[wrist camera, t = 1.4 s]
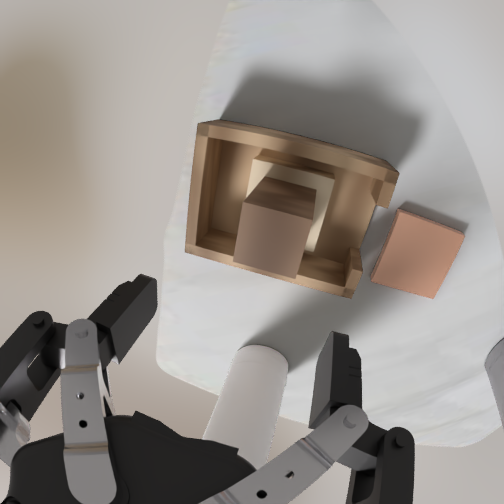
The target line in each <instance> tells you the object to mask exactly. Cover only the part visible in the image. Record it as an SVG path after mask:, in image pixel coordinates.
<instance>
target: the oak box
mask: <svg viewBox="0 0 504 504" xmlns="http://www.w3.org/2000/svg"><path fill="white" fill-rule="evenodd" d="M264 176H266V177H270V178H274V179H278V180H282V181H286V182H290V183H294V184H298V185H302V186H305V187H309V188H313V189H316V190H317V192H316V200H315V208H314V216H313V222H312V225H311V229H310V232H309V236H308V239H307V242H306V246H305V249H304V253H303V256H302V259H301V262H300V266H299V269H298V272H297V275H296V279H293V278H289V277H286V276H282V275H278V274H275V273H271V272H268V271H264V270H260V269H257V268H253V267H250V266H246V265H243V264H239V263H236V262H233V257H234V251H235V245H236V239H237V234H238V228H239V222H240V216H241V210H242V205H243V201H244V200H245V199H246V198H247V197H248V195H249V194H250V193H251V192H252V191H253V189H254V188H255V187H256V186H257V185H258V183H259V182H260V181H261V180H262V179H263V178H264ZM398 176H399V172H398V171H397V170H396V169H395V168H394V167H393V166H392V165H391V164H389V163H388V162H387V161H385V160H382V159H379V158H376V157H373V156H370V155H367V154H364V153H361V152H357V151H354V150H351V149H348V148H344V147H341V146H337V145H334V144H330V143H327V142H323V141H319V140H315V139H311V138H308V137H304V136H299V135H295V134H291V133H287V132H282V131H278V130H273V129H269V128H264V127H259V126H254V125H248V124H243V123H237V122H232V121H226V120H213V121H207V122H202V123H198V126H197V134H196V141H195V149H194V157H193V166H192V175H191V185H190V194H189V205H188V216H187V229H186V242H185V252H186V253H189V254H193V255H196V256H200V257H203V258H206V259H210V260H213V261H217V262H220V263H224V264H227V265H231V266H234V267H238V268H241V269H245V270H248V271H252V272H255V273H259V274H262V275H266V276H269V277H273V278H276V279H280V280H284V281H287V282H291V283H294V284H298V285H302V286H305V287H309V288H313V289H316V290H320V291H324V292H327V293H331V294H335V295H339V296H342V297H346V298H350V299H351V298H352V296H353V294H354V291H355V289H356V287H357V285H358V282H359V280H360V278H361V275H362V273H363V269H362V263H361V257H360V251H359V249H360V246H361V244H362V241H363V238H364V236H365V233H366V230H367V227H368V225H369V222H370V219H371V216H372V213H373V210H374V208H375V205H378V206H381V207H384V208H387V209H388V206H389V203H390V201H391V198H392V195H393V192H394V189H395V186H396V183H397V179H398Z"/></svg>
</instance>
